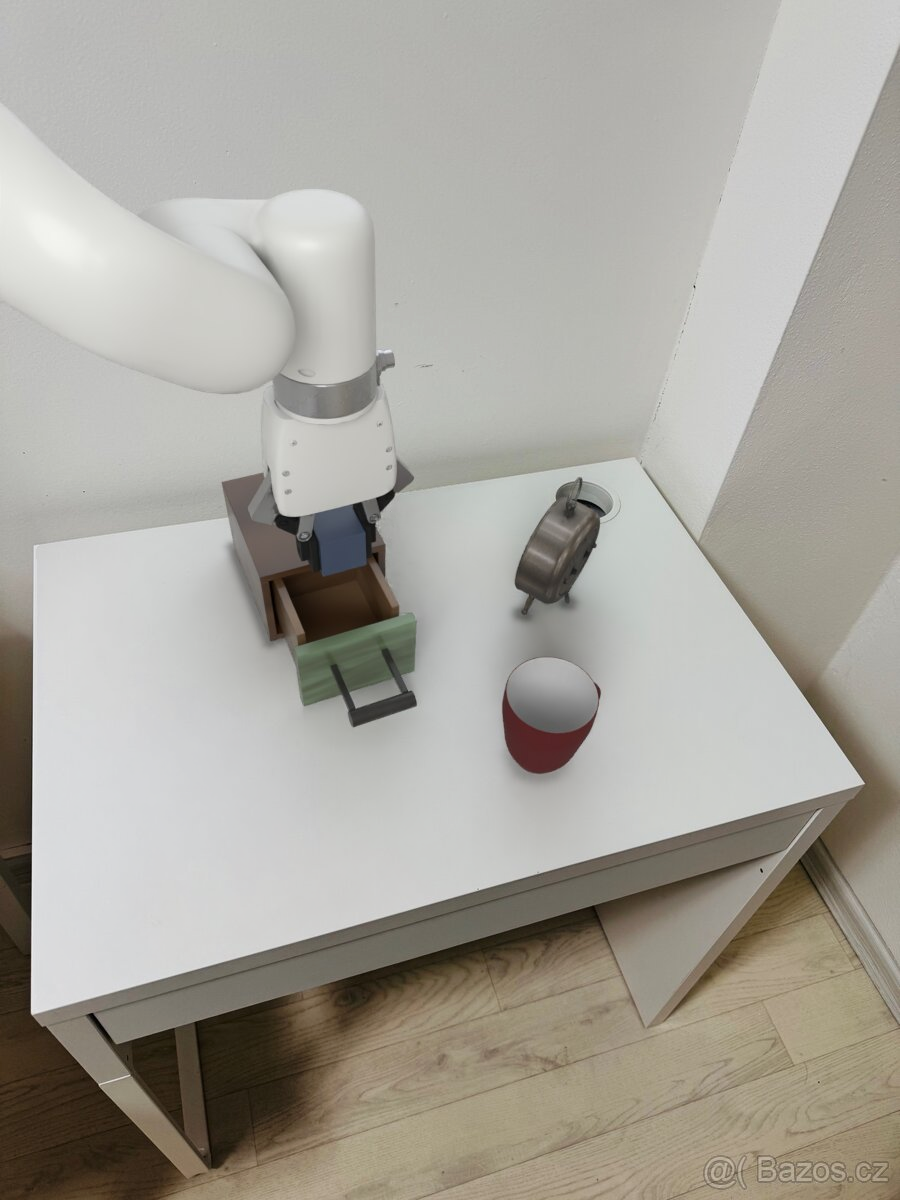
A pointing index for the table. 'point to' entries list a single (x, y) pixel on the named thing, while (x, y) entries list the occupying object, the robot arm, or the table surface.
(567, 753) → the mug
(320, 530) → the block
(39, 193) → the robot arm
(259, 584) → the cabinet
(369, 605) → the drawer
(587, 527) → the alarm clock
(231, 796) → the table surface
